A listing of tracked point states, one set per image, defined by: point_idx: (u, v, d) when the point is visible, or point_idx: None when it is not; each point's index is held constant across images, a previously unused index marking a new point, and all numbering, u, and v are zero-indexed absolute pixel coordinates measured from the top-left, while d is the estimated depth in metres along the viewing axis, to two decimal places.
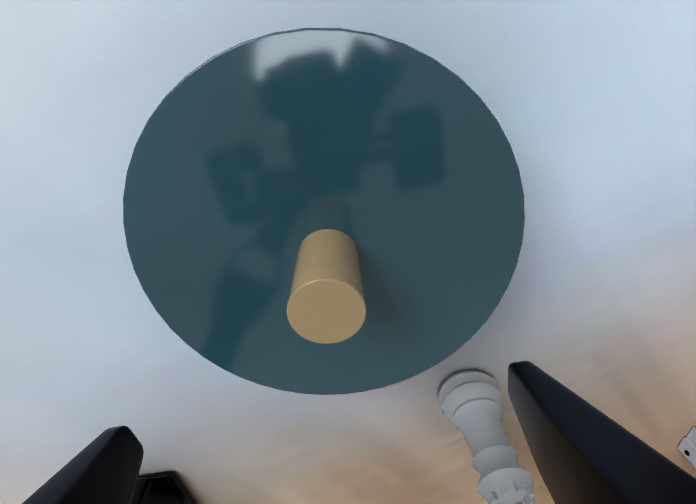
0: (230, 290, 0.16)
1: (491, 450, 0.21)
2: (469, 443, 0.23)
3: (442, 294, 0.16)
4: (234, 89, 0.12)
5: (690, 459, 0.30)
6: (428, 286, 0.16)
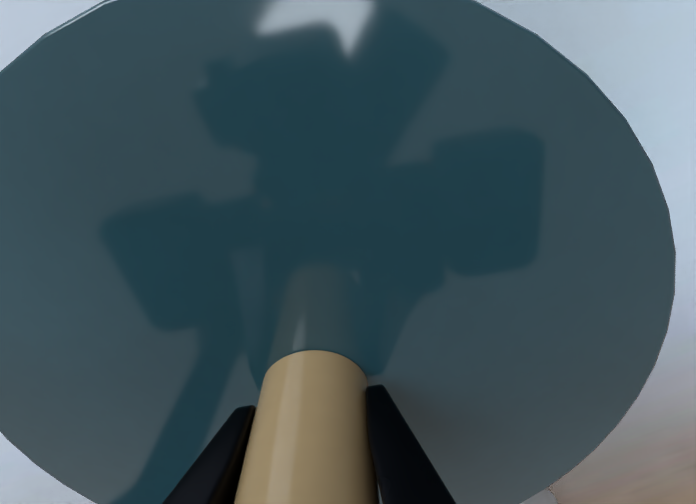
0: (152, 436, 0.09)
1: None
2: None
3: (507, 437, 0.10)
4: (104, 104, 0.06)
5: None
6: (485, 427, 0.10)
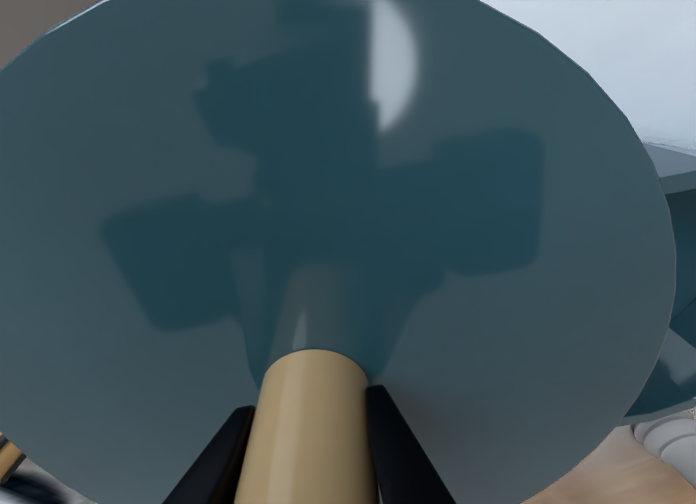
0: (152, 436, 0.09)
1: None
2: (690, 477, 0.25)
3: (507, 436, 0.10)
4: (103, 102, 0.06)
5: None
6: (486, 426, 0.10)
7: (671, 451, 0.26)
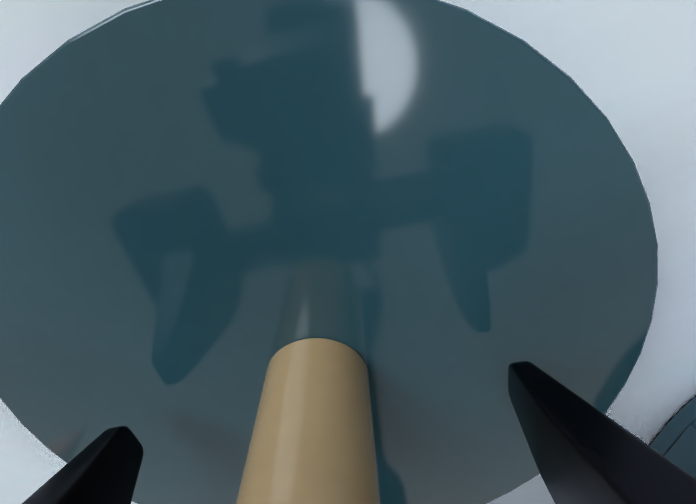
0: (161, 422, 0.10)
1: None
2: None
3: (500, 423, 0.10)
4: (122, 104, 0.06)
5: None
6: (479, 413, 0.10)
7: None
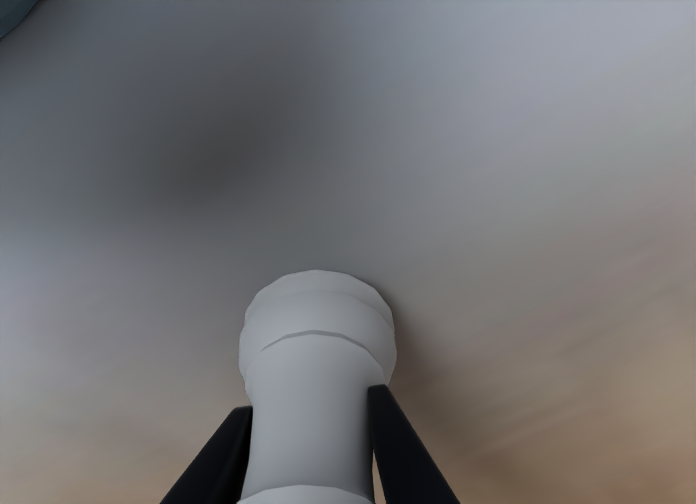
0: None
1: None
2: None
3: None
4: None
5: None
6: None
7: (252, 387, 0.08)
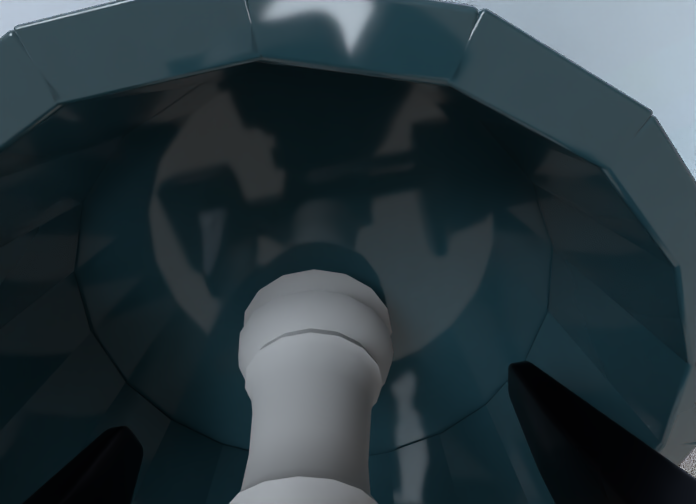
0: None
1: (264, 497, 0.06)
2: None
3: None
4: None
5: None
6: None
7: (252, 384, 0.09)
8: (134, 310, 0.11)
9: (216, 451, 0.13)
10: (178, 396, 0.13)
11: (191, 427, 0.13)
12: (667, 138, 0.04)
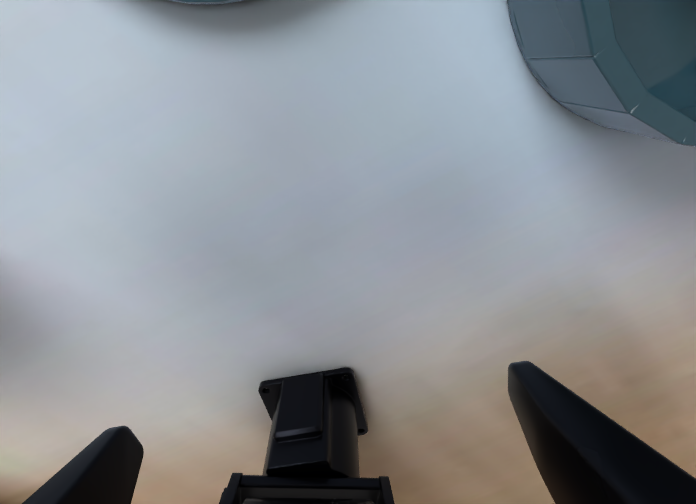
0: None
1: None
2: None
3: None
4: None
5: None
6: None
7: None
8: None
9: None
10: None
11: None
12: None
